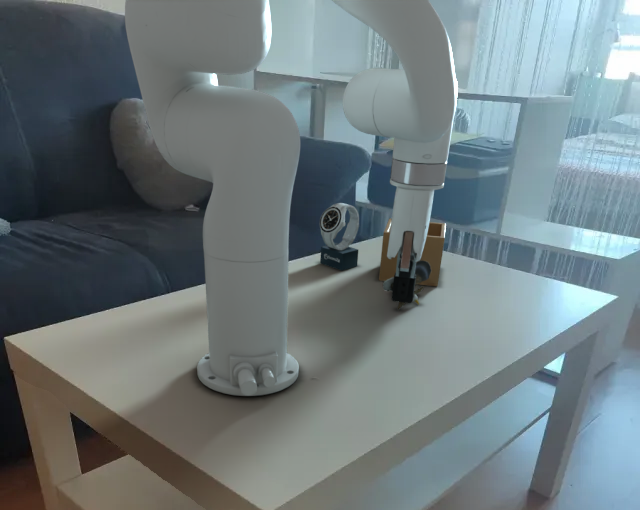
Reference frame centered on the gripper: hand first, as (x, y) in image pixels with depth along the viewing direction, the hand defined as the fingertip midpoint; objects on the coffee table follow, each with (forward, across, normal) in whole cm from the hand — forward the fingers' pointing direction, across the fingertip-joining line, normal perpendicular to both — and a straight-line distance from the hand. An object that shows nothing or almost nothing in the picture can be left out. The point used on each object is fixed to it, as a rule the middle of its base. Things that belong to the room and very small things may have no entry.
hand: (402, 300), depth 97 cm
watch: (+3, -22, -14) cm, 26 cm away
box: (+2, -21, 0) cm, 21 cm away
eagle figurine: (+3, -6, 0) cm, 7 cm away
